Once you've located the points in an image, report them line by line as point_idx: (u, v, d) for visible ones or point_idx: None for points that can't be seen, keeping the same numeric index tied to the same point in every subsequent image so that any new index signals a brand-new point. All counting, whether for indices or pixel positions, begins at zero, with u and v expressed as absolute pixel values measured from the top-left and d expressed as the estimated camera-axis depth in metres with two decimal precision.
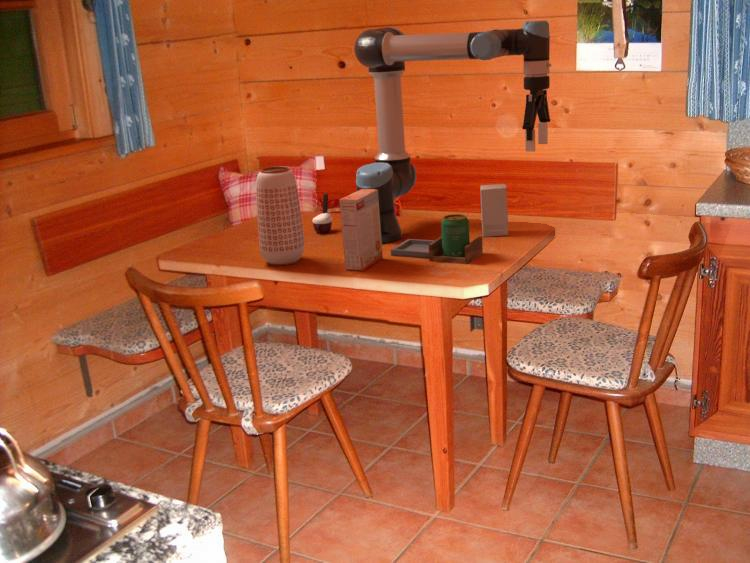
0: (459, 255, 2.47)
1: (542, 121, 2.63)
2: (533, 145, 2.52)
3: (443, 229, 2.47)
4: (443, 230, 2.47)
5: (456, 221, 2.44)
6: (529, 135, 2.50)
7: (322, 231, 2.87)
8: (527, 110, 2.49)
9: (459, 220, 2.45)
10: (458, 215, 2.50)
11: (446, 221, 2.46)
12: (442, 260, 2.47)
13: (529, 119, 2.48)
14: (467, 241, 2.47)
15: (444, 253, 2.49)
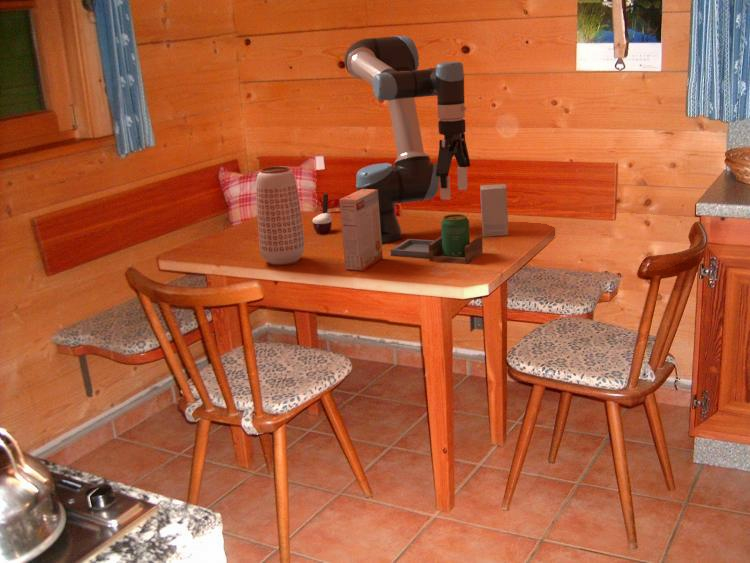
0: (459, 255, 2.47)
1: (461, 166, 2.50)
2: (448, 193, 2.38)
3: (443, 229, 2.47)
4: (443, 230, 2.47)
5: (456, 221, 2.44)
6: (443, 182, 2.37)
7: (322, 231, 2.87)
8: (440, 156, 2.35)
9: (459, 220, 2.45)
10: (458, 215, 2.50)
11: (446, 221, 2.46)
12: (442, 260, 2.47)
13: (442, 166, 2.34)
14: (467, 241, 2.47)
15: (444, 253, 2.49)
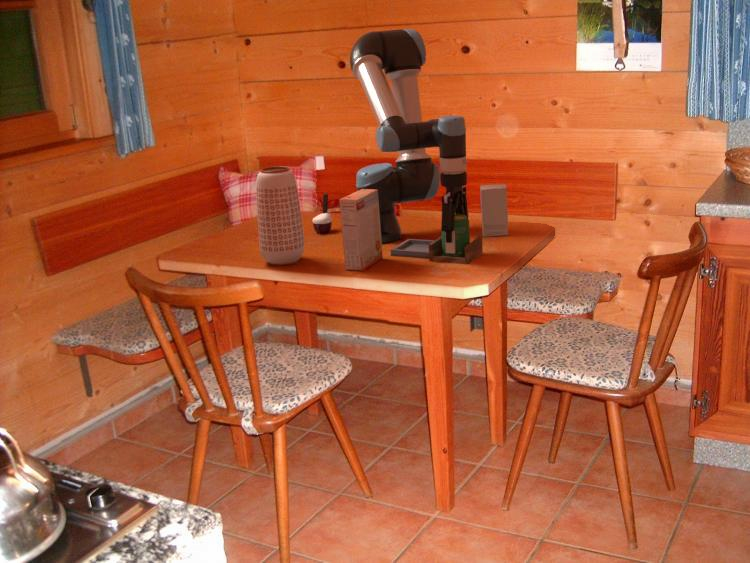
0: (459, 255, 2.47)
1: None
2: (453, 247, 2.45)
3: None
4: None
5: (456, 221, 2.44)
6: (448, 237, 2.44)
7: (322, 231, 2.87)
8: (444, 212, 2.41)
9: (459, 220, 2.45)
10: (458, 215, 2.50)
11: None
12: (442, 260, 2.47)
13: (447, 222, 2.41)
14: (467, 241, 2.47)
15: (444, 253, 2.49)
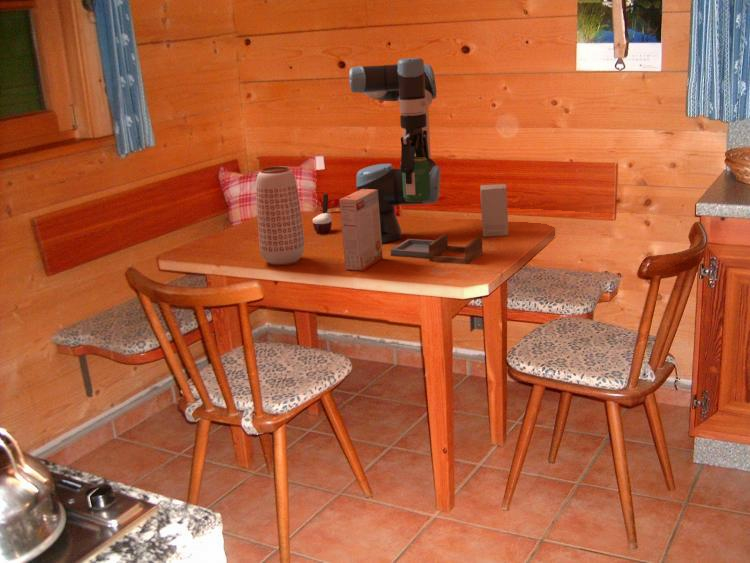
0: (419, 196, 2.50)
1: None
2: (413, 188, 2.49)
3: None
4: None
5: (416, 162, 2.48)
6: (408, 179, 2.47)
7: (322, 231, 2.87)
8: (403, 153, 2.45)
9: (419, 161, 2.48)
10: (419, 158, 2.54)
11: None
12: (442, 260, 2.47)
13: (406, 163, 2.45)
14: (427, 183, 2.51)
15: (405, 195, 2.52)
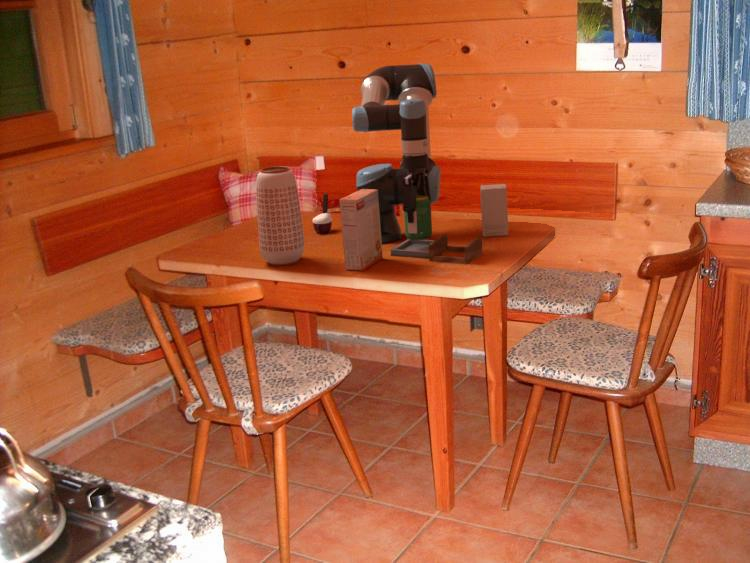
0: (421, 235, 2.54)
1: None
2: (415, 227, 2.52)
3: None
4: None
5: (418, 202, 2.51)
6: (410, 218, 2.51)
7: (322, 231, 2.87)
8: (405, 193, 2.48)
9: (420, 201, 2.51)
10: (420, 196, 2.57)
11: None
12: (442, 260, 2.47)
13: (408, 203, 2.48)
14: (429, 221, 2.54)
15: (407, 233, 2.56)
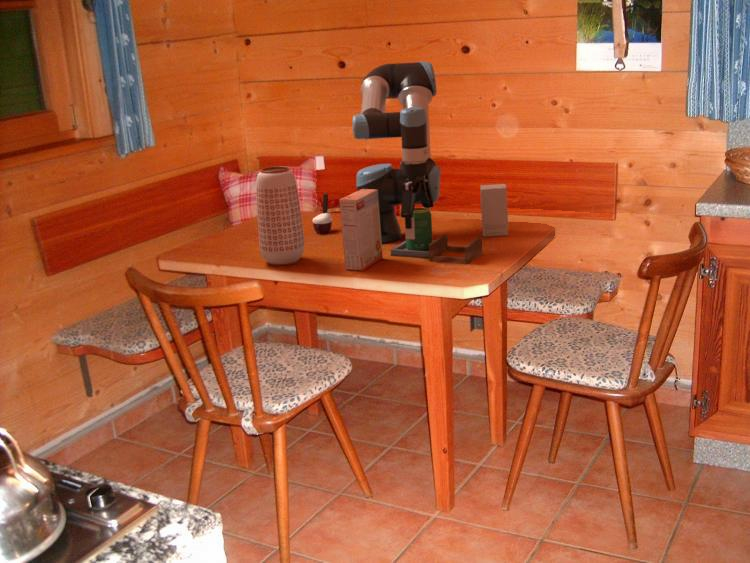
0: (421, 247, 2.55)
1: (425, 206, 2.61)
2: (412, 233, 2.51)
3: None
4: None
5: (418, 214, 2.52)
6: (408, 223, 2.50)
7: (322, 231, 2.87)
8: (404, 199, 2.48)
9: (421, 213, 2.53)
10: (421, 208, 2.58)
11: None
12: (442, 260, 2.47)
13: (406, 208, 2.47)
14: (429, 234, 2.55)
15: (407, 245, 2.57)
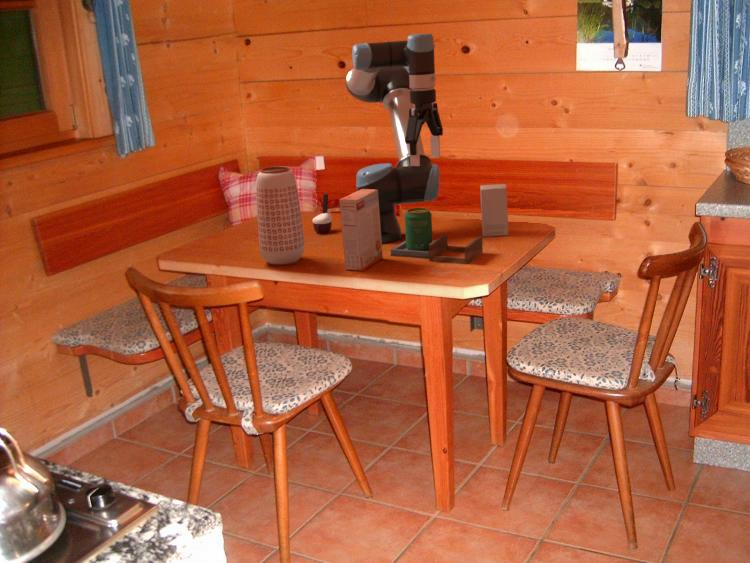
0: (421, 247, 2.55)
1: (434, 134, 2.60)
2: (417, 160, 2.49)
3: (406, 222, 2.55)
4: (406, 223, 2.55)
5: (418, 214, 2.53)
6: (412, 150, 2.48)
7: (322, 231, 2.87)
8: (409, 124, 2.46)
9: (421, 213, 2.53)
10: (421, 208, 2.58)
11: (409, 214, 2.54)
12: (442, 260, 2.47)
13: (411, 134, 2.45)
14: (429, 234, 2.56)
15: (407, 245, 2.57)
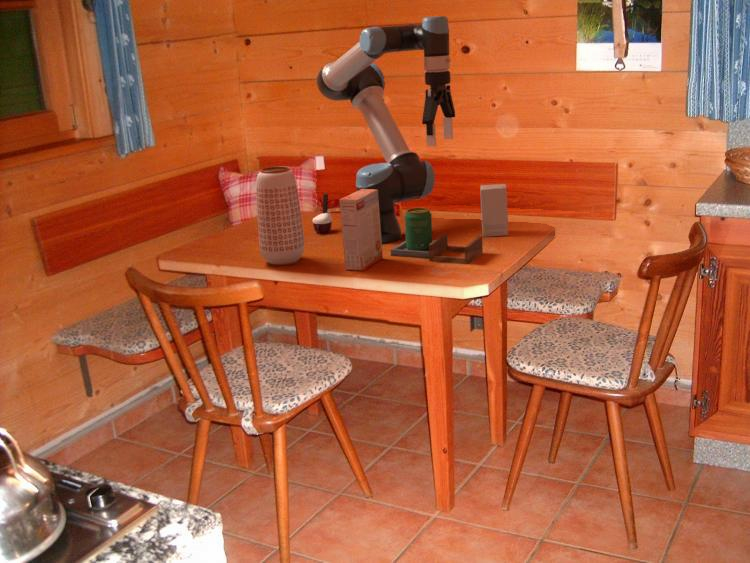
0: (421, 247, 2.55)
1: (447, 116, 2.65)
2: (434, 140, 2.53)
3: (406, 222, 2.55)
4: (406, 223, 2.55)
5: (418, 214, 2.53)
6: (429, 130, 2.52)
7: (322, 231, 2.87)
8: (426, 105, 2.50)
9: (421, 213, 2.53)
10: (421, 208, 2.58)
11: (409, 214, 2.54)
12: (442, 260, 2.47)
13: (428, 114, 2.50)
14: (429, 234, 2.56)
15: (407, 245, 2.57)
